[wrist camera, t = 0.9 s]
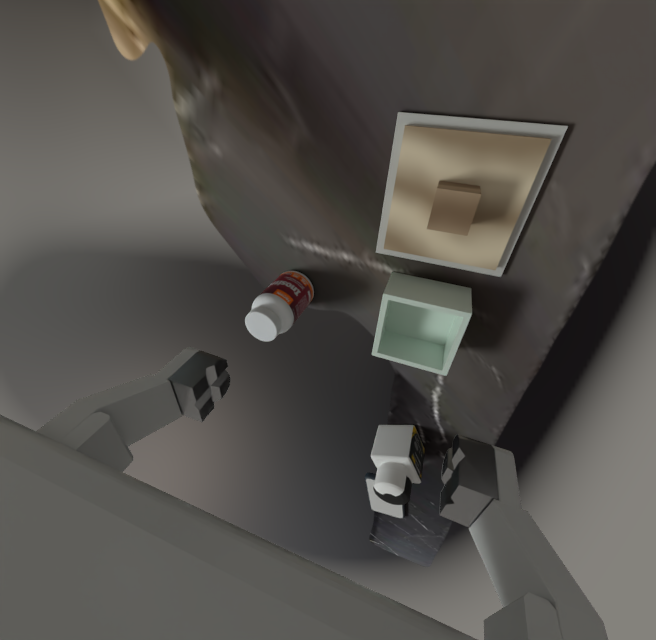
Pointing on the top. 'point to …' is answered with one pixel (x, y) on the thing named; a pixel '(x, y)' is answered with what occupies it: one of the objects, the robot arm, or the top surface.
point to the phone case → (378, 503)
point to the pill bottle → (279, 305)
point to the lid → (460, 193)
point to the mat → (480, 126)
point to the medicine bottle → (397, 462)
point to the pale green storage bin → (422, 322)
